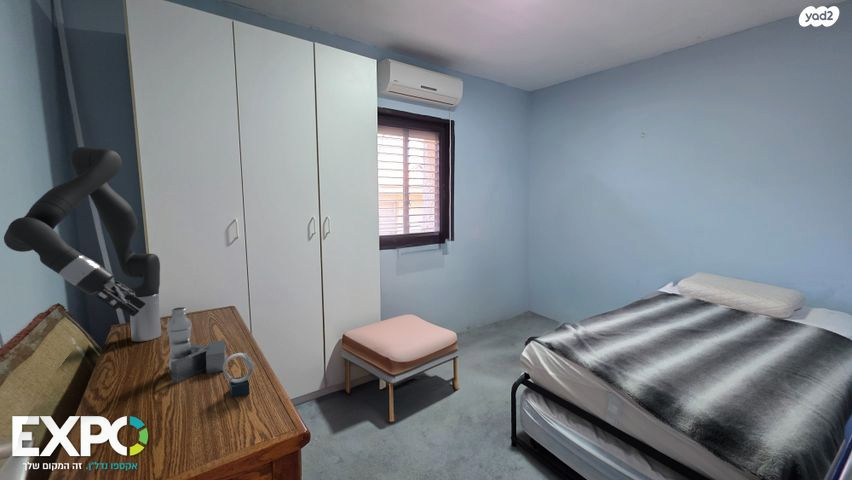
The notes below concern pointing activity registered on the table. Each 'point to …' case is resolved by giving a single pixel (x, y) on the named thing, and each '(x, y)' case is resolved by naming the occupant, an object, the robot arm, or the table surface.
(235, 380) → the watch
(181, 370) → the v block
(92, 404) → the table surface
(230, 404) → the table surface
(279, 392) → the table surface
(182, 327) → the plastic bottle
